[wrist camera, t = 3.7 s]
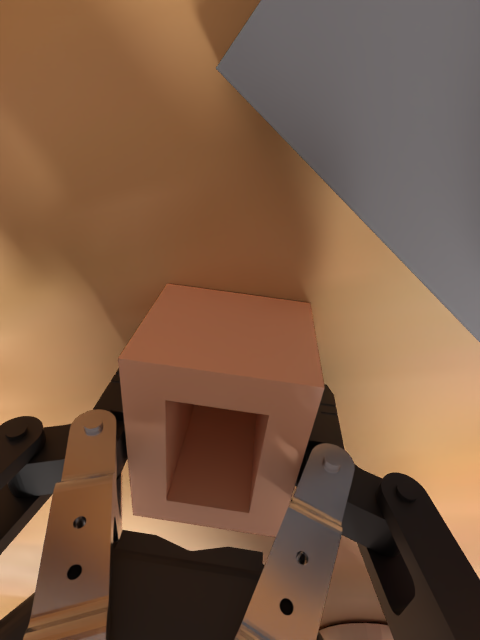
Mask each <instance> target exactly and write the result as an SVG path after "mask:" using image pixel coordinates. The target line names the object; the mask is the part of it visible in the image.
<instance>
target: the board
mask: <svg viewBox="0 0 480 640" xmlns="http://www.w3.org/2000/svg"><path fill="white" fill-rule="evenodd" d="M216 69H217V70H218V71H219V72H220V73H221V74H222V75H223V76H224V78H225V79H226V80H227V81H228V82H229V83H230V84H231V85H232V86H233V87H234V88H235V89H236V90H237V91H238V92H239V93H240V94H241V95H242V96H243V97H244V98H245V99H246V100H247V101H248V102H249V103H250V104H251V106H252V107H253V108H254V109H255V110H256V111H257V112H258V113H259V114H260V115H261V116H262V117H263V118H264V119H265V120H266V121H267V122H268V123H269V124H270V125H271V126H272V127H273V128H274V129H275V130H276V131H277V133H278V134H279V135H280V136H281V137H282V138H283V139H284V140H285V141H286V142H287V143H288V144H289V145H290V146H291V147H292V148H293V149H294V150H295V151H296V152H297V153H298V154H299V155H300V156H301V157H302V158H303V159H304V161H305V162H306V163H307V164H308V165H309V166H310V167H311V168H312V169H313V170H314V171H315V172H316V173H317V174H318V175H319V176H320V177H321V178H322V179H323V180H324V181H325V182H326V183H327V184H328V185H329V186H330V188H331V189H332V190H333V191H334V192H335V193H336V194H337V195H338V196H339V197H340V198H341V199H342V200H343V201H344V202H345V203H346V204H347V205H348V206H349V207H350V208H351V209H352V210H353V211H354V212H355V213H356V214H357V216H358V217H359V218H360V219H361V220H362V221H363V222H364V223H365V224H366V225H367V226H368V227H369V228H370V229H371V230H372V231H373V232H374V233H375V234H376V235H377V236H378V237H379V238H380V239H381V240H382V241H383V243H384V244H385V245H386V246H387V247H388V248H389V249H390V250H391V251H392V252H393V253H394V254H395V255H396V256H397V257H398V258H399V259H400V260H401V261H402V262H403V263H404V264H405V265H406V266H407V267H408V268H409V269H410V271H411V272H412V273H413V274H414V275H415V276H416V277H417V278H418V279H419V280H420V281H421V282H422V283H423V284H424V285H425V286H426V287H427V288H428V289H429V290H430V291H431V292H432V293H433V294H434V295H435V296H436V298H437V299H438V300H439V301H440V302H441V303H442V304H443V305H444V306H445V307H446V308H447V309H448V310H449V311H450V312H451V313H452V314H453V315H454V316H455V317H456V318H457V319H458V320H459V321H460V322H461V323H462V324H463V326H464V327H465V328H466V329H467V330H468V331H469V332H470V333H471V334H472V335H473V336H474V337H475V338H476V339H477V340H478V341H479V342H480V0H261V1H260V3H259V4H258V6H257V7H256V9H255V10H254V12H253V13H252V15H251V16H250V18H249V19H248V21H247V22H246V24H245V25H244V27H243V28H242V30H241V31H240V33H239V34H238V36H237V37H236V39H235V40H234V42H233V43H232V45H231V46H230V48H229V49H228V51H227V52H226V54H225V55H224V57H223V58H222V60H221V61H220V63H219V64H218V66H217V67H216Z"/></svg>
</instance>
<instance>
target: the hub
mask: <svg viewBox="0 0 480 640" xmlns="http://www.w3.org/2000/svg"><path fill="white" fill-rule="evenodd" d="M118 364H119V374H120V384H121V395H122V405H123V415H124V425H125V435H126V446H127V456H128V466H129V476H130V487H131V497H132V507H133V515H136V516H142V517H149V518H155V519H162V520H168V521H174V522H181V523H187V524H194V525H200V526H206V527H213V528H219V529H226V530H232V531H239V532H245V533H251V534H258V535H264V536H271V537H276V536H277V534H278V531H279V529H280V526H281V524H282V521H283V519H284V516H285V514H286V511H287V509H288V506H289V503H290V500H291V497H292V493H293V490H294V487H295V483H296V480H297V477H298V474H299V470H300V467H301V464H302V460H303V457H304V454H305V451H306V447H307V444H308V441H309V437H310V434H311V431H312V428H313V424H314V421H315V418H316V415H317V411H318V408H319V405H320V401H321V398H322V395H323V392H324V388H325V387H324V381H323V375H322V369H321V363H320V357H319V352H318V346H317V340H316V334H315V328H314V322H313V316H312V310H311V304H310V303H307V302H299V301H292V300H285V299H277V298H270V297H263V296H255V295H248V294H240V293H233V292H226V291H218V290H211V289H204V288H196V287H189V286H182V285H174V284H167V285H166V286H165V288H164V289H163V291H162V292H161V294H160V295H159V297H158V298H157V300H156V301H155V303H154V304H153V306H152V307H151V309H150V310H149V312H148V313H147V315H146V316H145V318H144V319H143V321H142V322H141V324H140V326H139V327H138V329H137V330H136V332H135V333H134V335H133V336H132V338H131V339H130V341H129V342H128V344H127V345H126V347H125V348H124V350H123V351H122V353H121V354H120V356H119V357H118ZM194 404H195V405H194ZM200 405H202V406H200ZM207 406H209V407H207ZM214 407H216V408H214ZM221 408H223V409H221ZM228 409H230V410H228ZM235 410H236V411H235ZM241 411H243V412H241ZM248 412H250V413H248ZM255 413H256V414H255Z"/></svg>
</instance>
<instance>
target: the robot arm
mask: <svg viewBox="0 0 480 640" xmlns="http://www.w3.org/2000/svg"><path fill="white" fill-rule="evenodd" d="M324 387H325V388H324V392H323V395H322V398H321V401H320V405H319V408H318V411H317V415H316V418H315V421H314V424H313V428H312V431H311V434H310V437H309V441H308V444H307V447H306V451H305V454H304V457H303V460H302V464H301V467H300V470H299V474H298V477H297V480H296V483H295V486H297V489H296V492H295V494H294V497H293V499H292V500H291V502H290V504H289V506H288V509H287V511H286V514H285V516H284V519H283V521H282V524H281V526H280V529H279V531H278V534H277V536H276V539H275V541H274V544H273V546H272V549H271V551H270V554H269V556H268V559H267V561H266V564H265V565H264V564H262V559H263V552H258V551H251V550H245V549H239V548H233V547H222V548H214V549H206V550H198V551H189V550H186V549H184V548H182V547H180V546H178V545H176V544H174V543H171V542H169V541H167V540H165V539H163V538H161V537H159V536H157V535H151V534H145V533H139V532H132V531H126V530H122V469H123V467H124V465H125V462H126V460H127V459H128V456H127V446H126V435H125V425H124V415H123V405H122V395H121V384H120V374H119V369H118V370H117V372H116V375H114V377H113V378H112V380H111V382H110V383H109V385H108V386H107V388H106V389H105V391H104V393H103V394H102V396H101V397H100V399H99V401H98V402H97V404H96V405H95V407H94V408H93V410H91V411H87V412H85V413H83V414H81V415H79V416H78V417H77V418H76V419H75V420H74V421H73V422H72V424H68V425H62V426H53V427H44V428H43V425H42V422H41V421H40V420H39V419H37V418H35V417H31V416H22V417H17V418H14V419H11V420H9V421H7V422H5V423H3V424H2V425H0V555H1V553H2V552H3V551H4V550H5V549H6V548H7V546H8V545H9V544H10V543H11V542H12V541H13V539H14V538H15V537H16V536H17V535H18V534H19V532H20V531H21V530H22V529H23V528H24V527H25V525H26V524H27V523H28V522H29V521H30V520H31V519H32V517H33V516H34V515H35V514H36V513H37V512H38V510H39V509H40V508H41V507H42V506H43V505H44V503H45V502H46V501H47V500H48V499H49V498H50V496H51V495H52V494H53V496H52V502H51V507H50V513H49V518H48V524H47V530H46V535H45V541H44V546H43V552H42V557H41V563H40V568H39V574H38V579H37V585H36V590H35V593H33V594H32V595H31V596H30V597H29V598H27V599H26V600H25V601H24V602H22V603H21V604H20V605H19V606H17V607H16V608H15V609H14V610H13V611H11V612H10V613H9V614H8V615H6V616H5V617H4V618H3V619H1V620H0V640H480V579H479V578H478V576H477V574H476V573H475V571H474V569H473V568H472V566H471V564H470V563H469V561H468V560H467V558H466V556H465V555H464V553H463V551H462V550H461V548H460V546H459V545H458V543H457V541H456V540H455V538H454V537H453V535H452V533H451V532H450V530H449V528H448V527H447V525H446V523H445V522H444V520H443V518H442V517H441V515H440V514H439V512H438V510H437V509H436V507H435V505H434V504H433V502H432V500H431V499H430V497H429V495H428V494H427V492H426V491H425V489H424V488H423V487H422V486H421V485H420V484H419V483H418V482H417V481H415V480H414V479H413V478H411V477H409V476H407V475H404V474H401V473H390V474H387V475H386V476H385V477H384V478H383V479H382V478H380V477H377V476H375V475H373V474H370V473H368V472H366V471H364V470H362V469H360V468H359V467H358V466H356V465H355V464H354V462H353V460H352V458H351V457H350V455H349V454H348V453H347V452H346V451H345V450H344V445H343V440H342V435H341V430H340V425H339V420H338V416H337V409H336V404H335V399H334V395H333V393H332V392H331V390H330V389H329V387H328V386H327V385H325V384H324ZM341 534H342V535H344V536H346V537H348V538H349V539H351V540H353V541H355V542H357V544H358V547H359V549H360V552H361V555H362V557H363V560H364V563H365V565H366V568H367V571H368V573H369V576H370V578H371V581H372V584H373V586H374V589H375V592H376V594H377V597H378V600H379V602H380V605H381V607H382V610H383V613H384V615H385V618H386V621H387V623H388V625H382V624H371V623H350V624H341V625H336V626H331V627H327V628H324V629H322V630H319V626H320V622H321V618H322V614H323V610H324V605H325V601H326V597H327V593H328V589H329V585H330V580H331V576H332V572H333V568H334V564H335V560H336V555H337V551H338V547H339V543H340V539H341Z"/></svg>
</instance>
